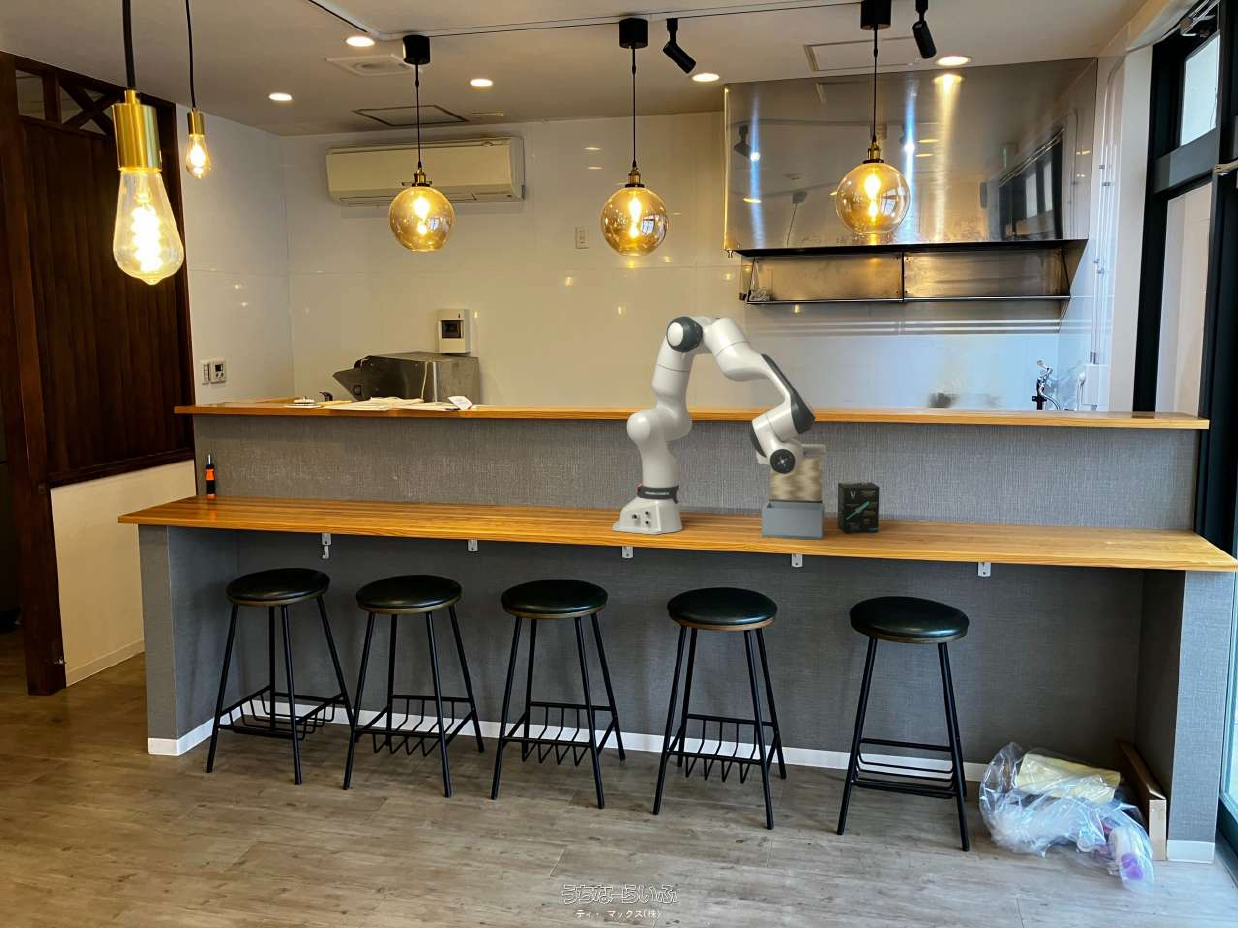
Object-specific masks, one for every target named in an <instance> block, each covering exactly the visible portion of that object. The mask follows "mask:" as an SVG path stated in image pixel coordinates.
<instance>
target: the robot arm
mask: <svg viewBox="0 0 1238 928" xmlns="http://www.w3.org/2000/svg"><path fill="white" fill-rule="evenodd" d="M665 334H666V335H665V336H664V339H663V341H662V343H661V345H660V348H659V351H658V354H657V358H656V361H655V362H656V363H655V367H654V370H653V371H654V372H653V375H652V379H651V389H652V391H653V392H654V393H655V394H656V405H655V407H652V408H651V407H650V408H643V409H641V410H639V411H635V412H634V413H632V414H631V415H630V416H629V417H628V419H627V422H626V432H627V435H628V437H629V439H631V441H632V442H634V443H635V445H636V446H637V449H638V451H639V455H640V457H641V458H640V459H641V464H642V483H640V484H638V487H636V489H635V491H636V497H635V498H634V499H632V500H631V501H629V502H628V503H627V504H626V505H624V506H623V507H622V508H621V510H620V514H619V520H617V521H616V522H615V523H613V525H612V528H611V529H612V531H614V532H624V533H632V534H634V533H635V534H645V535H655V536H656V535H660V534H668V533H675V532H679V531H682V530H683V528H684V527H683V525H682V519H681V515H680V507H679V502H680V485H679V484H678V481H679V480H678V475H679V474H678V469H679V468H678V461H677V459H676V458H675V457H674V456H673V455H672V453H671V452H670V450H669V445H668V442H670V441H675V440H678V439H679V440H680V438H683V437H684V436H686V435H688V434H689V433H690V432H691V430H692V427H693V418H692V416H691V415H692V414H691V413H690V412H689V411H688V408H687V400H686V399H687V390H688V385H689V380H690V377H691V372H692V369H693V363H694V358H695V356H696V355H701V354H712V357H713V359H714V361H715V362H716V363H715V364H716V365H717V368H718V369H719V371H720V372H721V374H722V375H723V377H725V378H727V379H728V380H730V381H733V382H743V383H745V382H751V381H756V380H769V381H770V382H771V383H772V384H773V385H774V386H775V388H776V389H777V390H778V392H779V394H780V395H782V398H784V401H783V402H782V403H781V404H779V405H778V406H776V407H774V408H772V409H770V410H768V411H766V412H764V413H762V414H760V415H759V416H757V417H755V418H754V419H751V422H750V424H749V429H748V436H749V438H750V441H751V444H752V445H753V447H754V449H755V459H756V460H757V463H758V464H760V465H766V466H769V467H770V470H771V469H772V470H773V471H774V472H776V473H778V474H781V475H786V474H790V473H792V472H794V471H795V470H796V469H797V468H798V467H799V465H800V464H801V462H802V460H803V459H824V458H826V455H827V445H825V444H821V443H820V444H819V443H802V442H800V441H799V440H797V439H795V437H797V436H799V435H802V434H804V433H807V432H809V431H811V430H812V428H813V427H814V425H815V421H816V414H815V411H814V408H813V407H812V406H811V404H810V403H809V402H808V401H807V400H806V399H805V398H804V397H803V396H802V395H801V394H800V393H799V392H798V391H797V389H796V388H795V387H794V385H793V384H792V383H791V381H790V380H789V378H788V377H787V376H786V375H785V373H784V372H783V371H782V370H781V368H780V367H779V366H778V365H777V363H776V362H775V361H774V360H773V359H772V357H770V355H767V353H760V352H757V351H756V350H755V349H754V348H753V346H752V345H751V342H750V341H749V339H748V336H746V334H745V332H744V331H743V330H742V328H741V327H740V325H739V324H738V323H737V321H735V320H734V319H732V318H729V317H722V318H719V317H716V318H715V317H711V316H703V315H702V316H700V315H699V316H680V317H676V318H674V319H672V321H670V322H669V324H668V326H667V328H666V333H665Z"/></svg>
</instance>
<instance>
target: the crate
mask: <svg viewBox="0 0 1238 928" xmlns="http://www.w3.org/2000/svg"><path fill="white" fill-rule="evenodd" d="M825 506H826V504H825V503H824V502H823V503H797V502H771V501H769V500H768V501H766V502H765V503H764V505H763V506H762V508H761V538H765V537H777V538H776V539H786V538H787V539H790V540H805V541H807V540H808V541H822V540H823V538H824V534H825V518H826V517H825V515H826V514H825V513H826V512H825V510H826V507H825Z"/></svg>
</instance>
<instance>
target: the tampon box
mask: <svg viewBox="0 0 1238 928" xmlns="http://www.w3.org/2000/svg"><path fill="white" fill-rule="evenodd" d="M879 513H880V486H878V485H876V484H875V483H873V482H868V481H867V482H844V483H843V482H841V483H840V482H838V483H837V527H838V528H839V530H840V531H842V533H844V534H869V533H870V534H871V533H873V534H874V533H875V534H876V533H879V519H880V514H879Z"/></svg>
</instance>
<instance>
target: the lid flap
mask: <svg viewBox="0 0 1238 928" xmlns="http://www.w3.org/2000/svg"><path fill="white" fill-rule="evenodd" d="M823 459H824V458H823ZM823 459H803V460H802V462H801V464H800V465H799V467H798V468H797V469H796V470H795V471H794V472H792V473H790V474H786V475H781V474H778V473H776V472H774V471H773V470H772V469H771V468H770V480H769V481H770V484H769V485H770V488H769V489H770V490H769V491H770V492H769V496H770V497H769V499H768V501H771V502H797V503H823V504H824V502H823V501H824V500H823V467H824V465H823V463H824V462H823V461H824V460H823Z"/></svg>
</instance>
